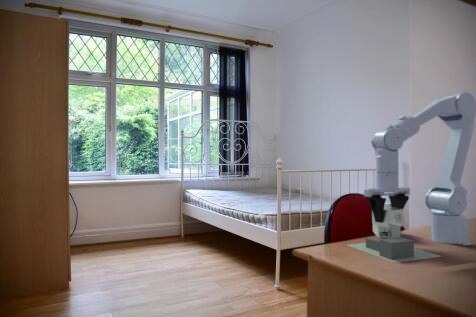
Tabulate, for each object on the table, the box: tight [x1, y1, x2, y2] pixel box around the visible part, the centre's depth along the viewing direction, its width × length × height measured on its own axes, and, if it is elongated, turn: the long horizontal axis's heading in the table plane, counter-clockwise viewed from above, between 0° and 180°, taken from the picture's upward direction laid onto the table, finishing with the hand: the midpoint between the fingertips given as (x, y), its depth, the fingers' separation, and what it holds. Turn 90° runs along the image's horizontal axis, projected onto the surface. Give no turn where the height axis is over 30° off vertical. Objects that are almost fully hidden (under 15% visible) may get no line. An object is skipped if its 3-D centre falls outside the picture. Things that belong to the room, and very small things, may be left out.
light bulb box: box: [372, 202, 402, 239], centre depth 112 cm, size 11×7×11 cm, turn 168°
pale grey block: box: [371, 206, 405, 228], centre depth 99 cm, size 6×6×5 cm
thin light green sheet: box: [346, 237, 443, 264], centre depth 93 cm, size 15×18×5 cm
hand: (387, 221), depth 99 cm, fingers closed on pale grey block, 6 cm apart
